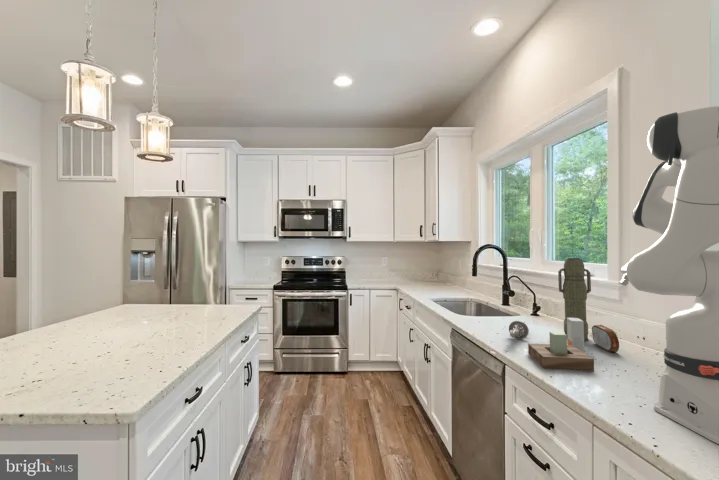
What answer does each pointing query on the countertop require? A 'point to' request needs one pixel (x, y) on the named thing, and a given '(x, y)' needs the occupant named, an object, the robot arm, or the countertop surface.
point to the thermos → (575, 291)
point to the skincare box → (575, 333)
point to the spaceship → (518, 330)
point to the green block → (558, 343)
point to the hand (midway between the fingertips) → (630, 286)
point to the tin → (605, 338)
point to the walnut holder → (561, 358)
